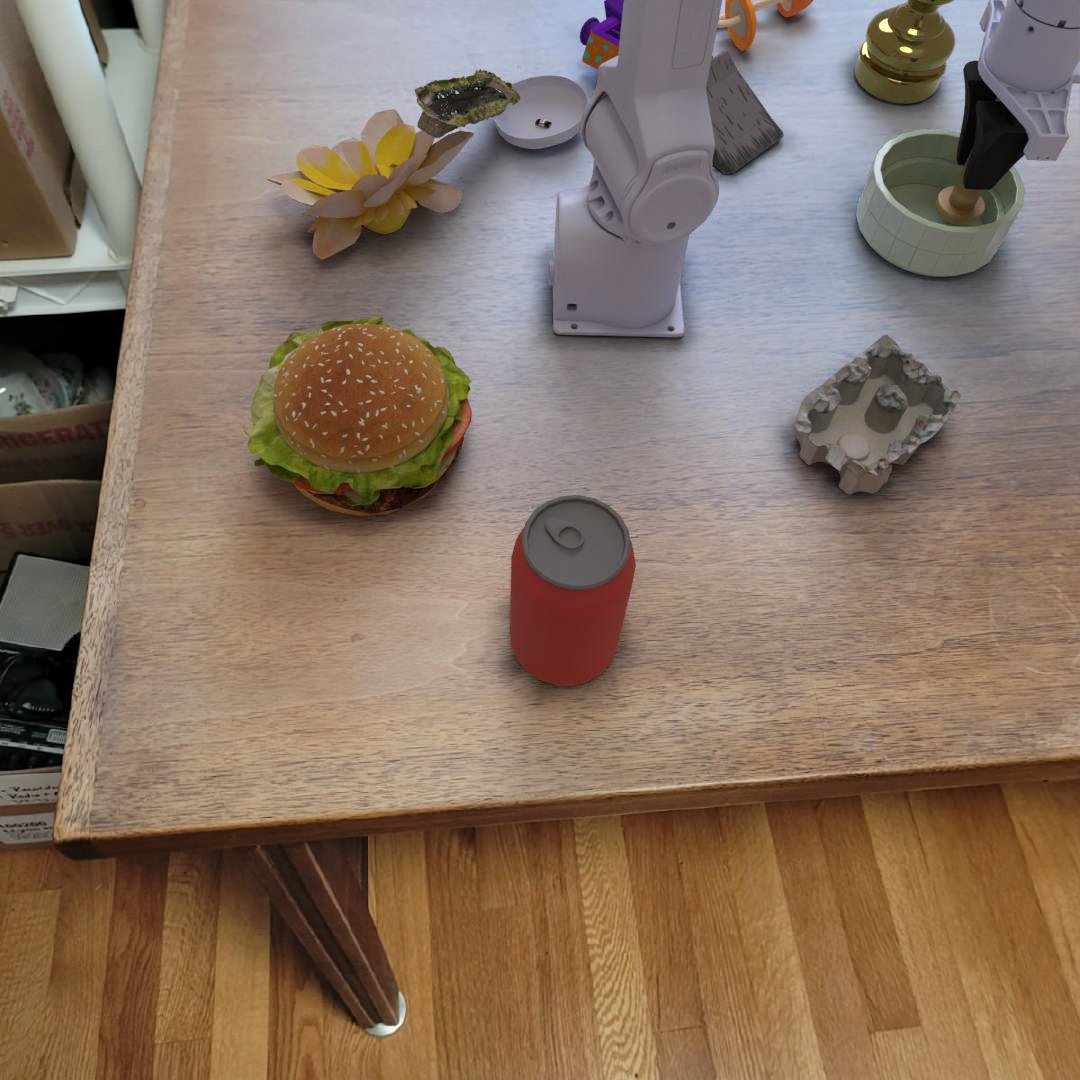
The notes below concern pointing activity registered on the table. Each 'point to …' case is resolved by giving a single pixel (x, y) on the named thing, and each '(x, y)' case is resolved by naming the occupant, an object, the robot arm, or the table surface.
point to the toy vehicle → (729, 96)
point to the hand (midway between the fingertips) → (973, 174)
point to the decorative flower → (371, 180)
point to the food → (360, 416)
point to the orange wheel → (753, 17)
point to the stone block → (462, 102)
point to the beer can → (570, 589)
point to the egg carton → (872, 415)
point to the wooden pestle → (960, 202)
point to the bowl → (931, 207)
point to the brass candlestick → (905, 52)
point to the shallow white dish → (542, 112)
